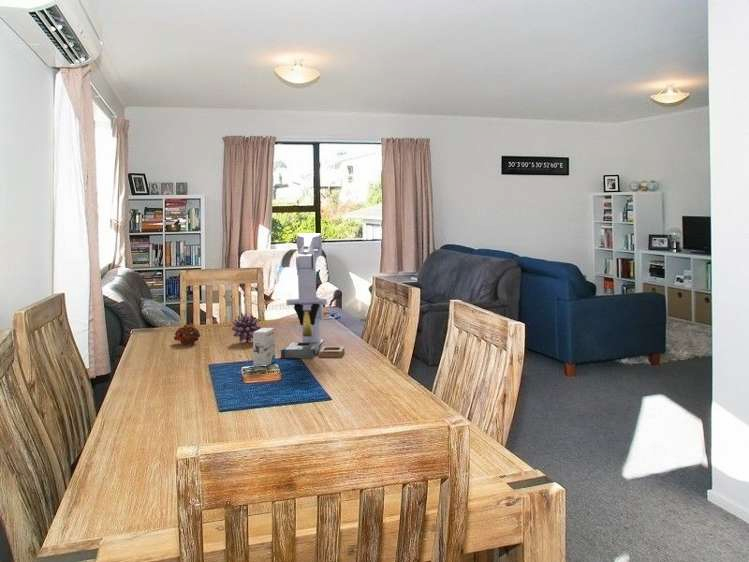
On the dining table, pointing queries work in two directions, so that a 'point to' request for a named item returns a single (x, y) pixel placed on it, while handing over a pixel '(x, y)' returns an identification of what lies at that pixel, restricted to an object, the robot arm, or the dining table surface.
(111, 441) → the dining table surface
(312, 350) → the socket block
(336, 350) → the rack
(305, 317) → the yellow rectangular block
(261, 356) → the ink box
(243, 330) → the purple spiky ball
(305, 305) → the robot arm
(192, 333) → the brown knobbly lump
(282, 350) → the drift key
